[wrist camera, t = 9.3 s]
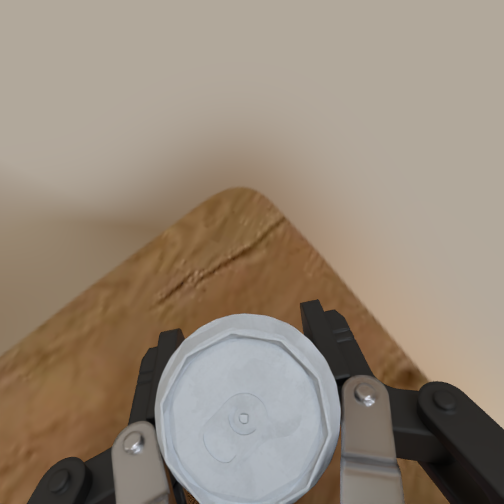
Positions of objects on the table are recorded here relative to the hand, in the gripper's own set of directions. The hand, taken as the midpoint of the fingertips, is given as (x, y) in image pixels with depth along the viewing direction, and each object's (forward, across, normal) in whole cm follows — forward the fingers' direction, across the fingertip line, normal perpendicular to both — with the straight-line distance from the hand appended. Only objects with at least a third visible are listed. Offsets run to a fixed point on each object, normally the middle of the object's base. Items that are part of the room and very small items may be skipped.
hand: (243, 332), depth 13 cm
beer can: (+4, 0, +6) cm, 7 cm away
